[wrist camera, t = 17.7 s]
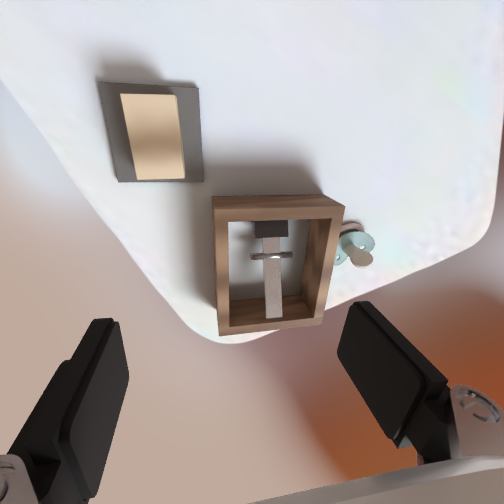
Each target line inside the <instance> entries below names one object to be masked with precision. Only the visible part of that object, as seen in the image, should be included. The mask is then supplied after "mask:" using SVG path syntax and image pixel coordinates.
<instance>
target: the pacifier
mask: <svg viewBox="0 0 504 504" xmlns="http://www.w3.org/2000/svg"><path fill="white" fill-rule="evenodd" d="M348 229H357V230H358V231H355V232H349V233H347V234H344V235H343V236H341V237H340V238H339V240H338V245H337V250H336V255H335V260H334V265H340V264H341V263H343V262H344V261H345V260H346V259H347V257H348V256H349V257H350V260H351V262H352V263H353V265H355V266H356V267H358V268H367V267H369V266H370V265H371V264H372V262H373V257H372V255H371V254H370V253H369V252H370V251H371V250H372V249H373V248H374V246H375V242H374V239H373V238H372V237H371V236H370V235H369V234H367V233H365V232H364V228H363V226H362V225H360V224H357V223H350V224H346V225H343V226H341V230H340V233H341V232H343V231H345V230H348ZM360 246H365V248H364V249H360ZM338 255H339V258H338V259H337V260H336V257H337V256H338Z"/></svg>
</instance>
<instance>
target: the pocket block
mask: <svg viewBox="0 0 504 504" xmlns="http://www.w3.org/2000/svg"><path fill="white" fill-rule="evenodd" d="M212 209H213V234H214V259H215V284H216V309H217V320H218V330H219V336H226V335H235V334H243V333H252V332H260V331H269V330H277V329H286V328H294V327H303V326H311V325H320V324H322V319H323V314H324V309H325V304H326V299H327V295H328V290H329V285H330V280H331V275H332V270H333V265H334V260H335V255H336V250H337V245H338V240H339V235H340V230H341V225H342V220H343V215H344V210H345V206H344V205H342V204H340V203H338V202H336V201H335V200H333V199H331V198H329V197H327V196H325V195H267V196H212ZM296 219H311V220H310V228H309V235H308V242H307V249H306V256H305V263H304V270H303V277H302V284H301V291H300V295H292V296H282V317H276V318H267V319H266V317H265V298H260V299H249V300H238V301H229V256H228V222H237V221H266V220H296Z"/></svg>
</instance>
